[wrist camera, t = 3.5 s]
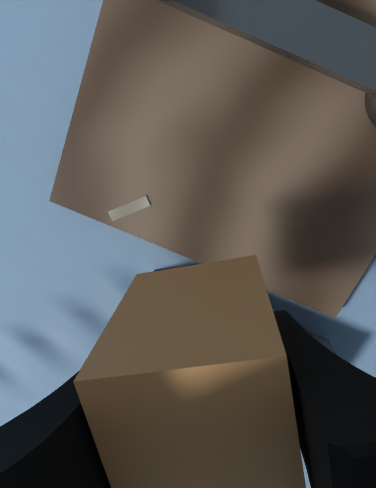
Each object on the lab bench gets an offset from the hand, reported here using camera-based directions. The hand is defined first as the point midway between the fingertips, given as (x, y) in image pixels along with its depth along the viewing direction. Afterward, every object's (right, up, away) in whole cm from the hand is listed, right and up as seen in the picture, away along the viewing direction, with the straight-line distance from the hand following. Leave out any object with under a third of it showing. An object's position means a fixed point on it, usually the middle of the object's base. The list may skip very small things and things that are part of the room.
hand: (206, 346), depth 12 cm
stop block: (0, +1, +1) cm, 2 cm away
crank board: (+3, +10, +6) cm, 12 cm away
